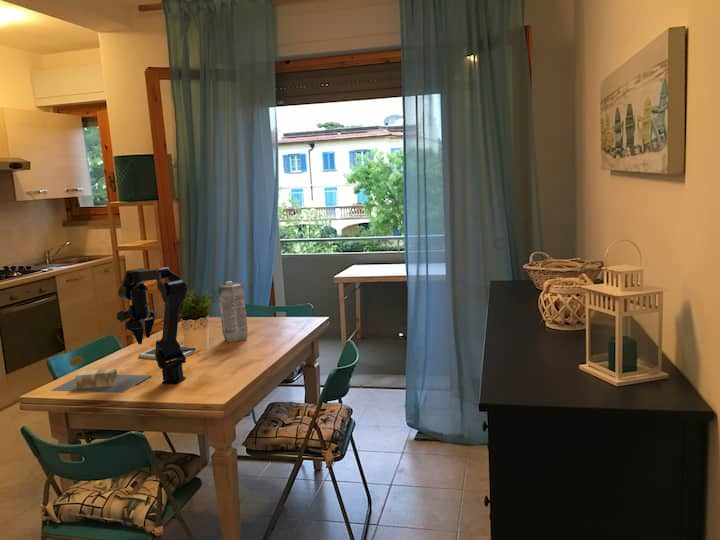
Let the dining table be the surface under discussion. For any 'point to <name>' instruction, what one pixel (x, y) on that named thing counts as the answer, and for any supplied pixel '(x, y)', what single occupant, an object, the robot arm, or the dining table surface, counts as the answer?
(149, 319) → the robot arm
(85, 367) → the dining table surface
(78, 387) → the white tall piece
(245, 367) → the dining table surface
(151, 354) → the picture frame
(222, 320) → the juice carton
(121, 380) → the rubber mat
